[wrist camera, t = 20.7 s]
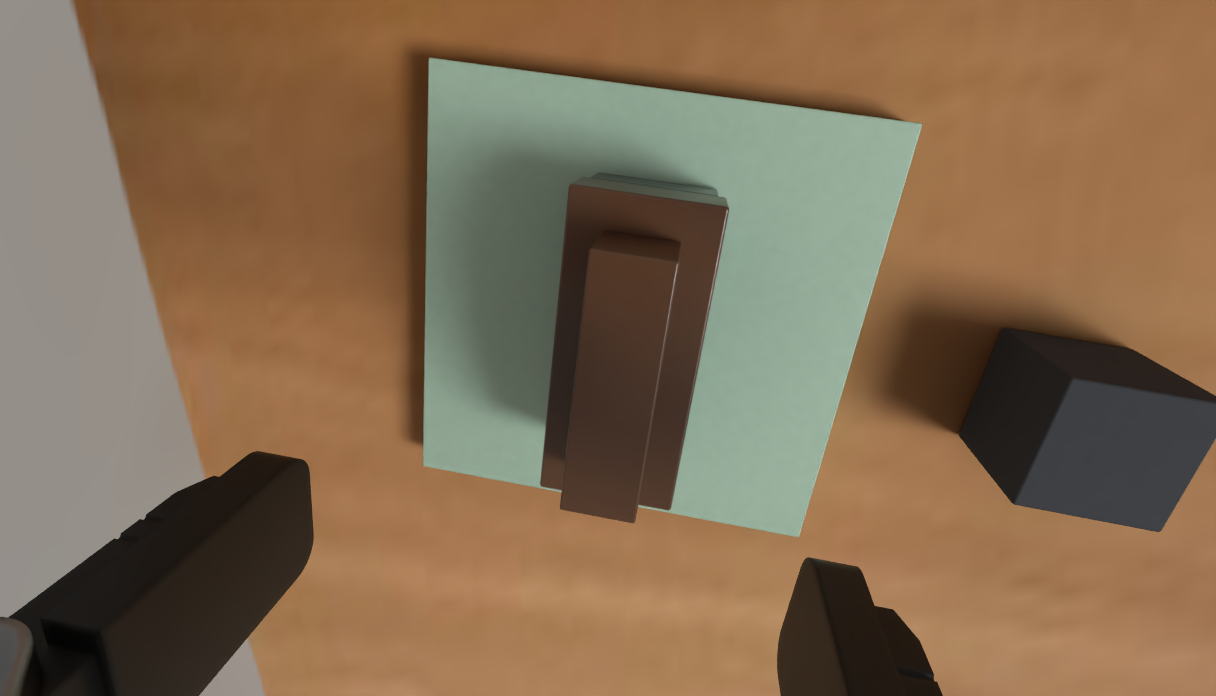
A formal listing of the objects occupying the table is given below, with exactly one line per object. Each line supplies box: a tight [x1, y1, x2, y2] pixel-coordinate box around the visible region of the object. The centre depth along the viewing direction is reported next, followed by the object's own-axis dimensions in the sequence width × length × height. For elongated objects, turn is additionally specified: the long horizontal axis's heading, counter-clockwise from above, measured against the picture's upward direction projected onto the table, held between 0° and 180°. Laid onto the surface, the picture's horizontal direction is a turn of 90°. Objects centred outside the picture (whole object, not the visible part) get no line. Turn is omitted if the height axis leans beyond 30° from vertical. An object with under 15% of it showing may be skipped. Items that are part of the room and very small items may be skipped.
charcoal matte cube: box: [959, 328, 1216, 532], centre depth 18 cm, size 4×4×4 cm
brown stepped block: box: [540, 172, 729, 523], centre depth 17 cm, size 9×4×6 cm, turn 173°
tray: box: [423, 58, 922, 537], centre depth 21 cm, size 14×14×1 cm
